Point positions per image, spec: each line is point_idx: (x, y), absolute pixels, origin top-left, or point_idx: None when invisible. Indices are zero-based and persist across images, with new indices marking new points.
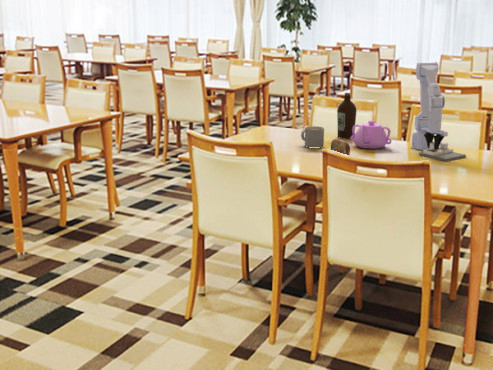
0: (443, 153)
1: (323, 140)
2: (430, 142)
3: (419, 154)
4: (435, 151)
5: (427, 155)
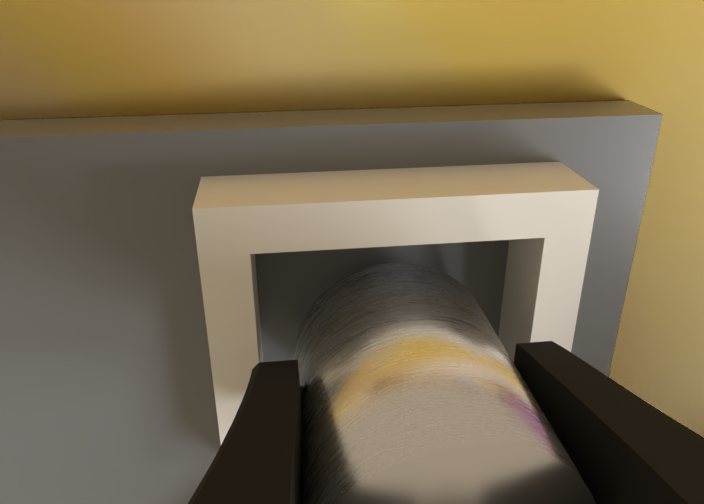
0: None
1: None
2: (551, 496)
3: (625, 106)
4: None
5: (367, 118)
